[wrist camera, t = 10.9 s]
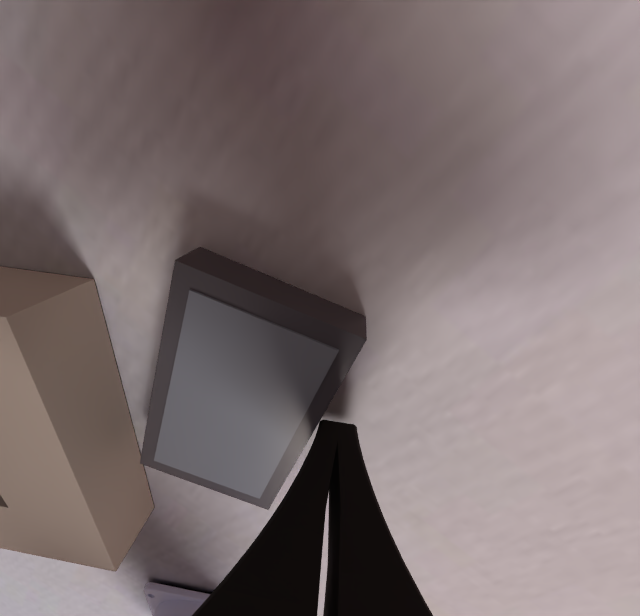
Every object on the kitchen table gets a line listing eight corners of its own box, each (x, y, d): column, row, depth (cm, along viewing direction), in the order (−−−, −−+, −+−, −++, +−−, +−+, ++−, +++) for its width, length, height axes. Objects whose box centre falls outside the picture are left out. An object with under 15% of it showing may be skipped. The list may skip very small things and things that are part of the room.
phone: (278, 468, 15) (267, 511, 13) (166, 427, 15) (138, 464, 13) (365, 309, 11) (366, 341, 9) (207, 243, 10) (173, 260, 8)
